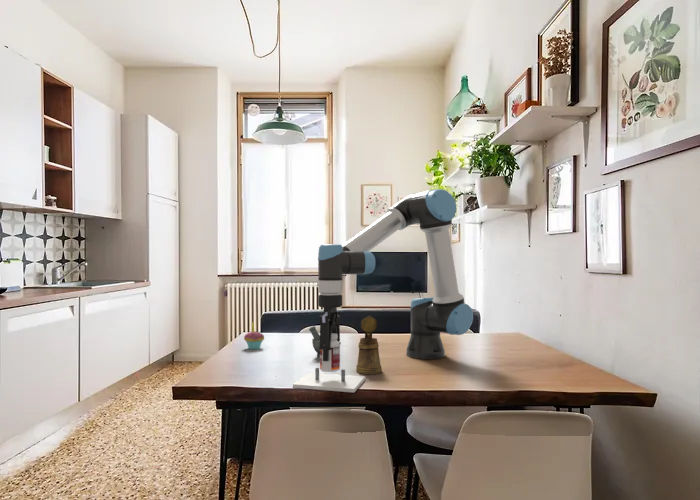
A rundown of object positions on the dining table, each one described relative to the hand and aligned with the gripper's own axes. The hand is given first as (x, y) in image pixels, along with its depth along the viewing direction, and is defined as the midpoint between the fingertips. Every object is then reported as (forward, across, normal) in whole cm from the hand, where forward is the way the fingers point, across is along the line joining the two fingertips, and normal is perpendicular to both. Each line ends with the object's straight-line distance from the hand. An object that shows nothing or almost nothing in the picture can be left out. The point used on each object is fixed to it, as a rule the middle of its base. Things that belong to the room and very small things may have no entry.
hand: (330, 368), depth 136 cm
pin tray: (+5, 0, 0) cm, 5 cm away
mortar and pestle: (+5, -35, -14) cm, 38 cm away
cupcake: (+5, -43, -48) cm, 65 cm away
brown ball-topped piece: (+5, -20, +8) cm, 22 cm away
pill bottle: (+1, 0, 0) cm, 1 cm away
